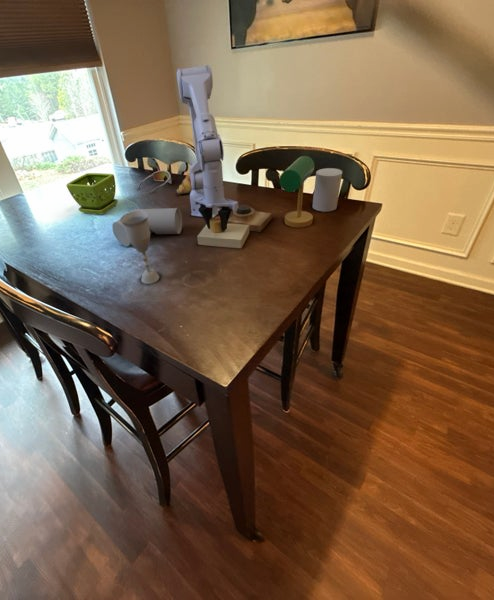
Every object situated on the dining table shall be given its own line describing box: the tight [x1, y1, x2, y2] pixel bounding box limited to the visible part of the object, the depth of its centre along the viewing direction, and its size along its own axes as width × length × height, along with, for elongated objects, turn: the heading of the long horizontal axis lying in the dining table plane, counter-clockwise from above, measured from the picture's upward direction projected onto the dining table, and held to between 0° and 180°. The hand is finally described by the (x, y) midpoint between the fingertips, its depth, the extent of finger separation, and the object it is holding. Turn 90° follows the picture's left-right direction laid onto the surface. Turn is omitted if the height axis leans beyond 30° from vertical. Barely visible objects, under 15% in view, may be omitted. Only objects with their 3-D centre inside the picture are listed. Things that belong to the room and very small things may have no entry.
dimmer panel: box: [196, 223, 250, 249], centre depth 99 cm, size 14×10×3 cm
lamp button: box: [237, 204, 251, 215], centre depth 105 cm, size 4×4×2 cm
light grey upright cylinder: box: [311, 167, 343, 213], centre depth 107 cm, size 8×8×12 cm
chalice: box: [119, 211, 160, 285], centre depth 81 cm, size 7×7×18 cm
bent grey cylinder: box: [111, 207, 183, 247], centre depth 104 cm, size 18×10×20 cm
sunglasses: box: [137, 170, 173, 193], centre depth 146 cm, size 14×15×5 cm
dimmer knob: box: [210, 216, 223, 233], centre depth 97 cm, size 4×4×4 cm
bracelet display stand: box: [278, 155, 315, 228], centre depth 98 cm, size 9×14×19 cm, turn 150°
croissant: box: [176, 173, 192, 195], centre depth 138 cm, size 21×10×8 cm, turn 140°
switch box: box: [227, 207, 272, 232], centre depth 105 cm, size 12×10×4 cm
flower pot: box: [65, 172, 119, 215], centre depth 127 cm, size 14×14×13 cm
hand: (217, 228), depth 98 cm, fingers closed on dimmer knob, 4 cm apart
